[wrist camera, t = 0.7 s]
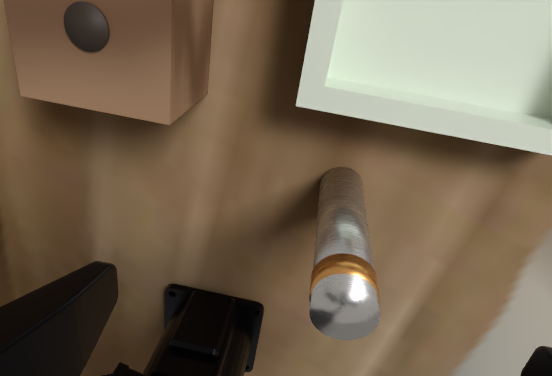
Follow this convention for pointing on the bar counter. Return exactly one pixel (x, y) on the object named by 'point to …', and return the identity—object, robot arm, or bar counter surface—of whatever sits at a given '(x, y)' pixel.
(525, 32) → the tray
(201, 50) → the walnut block
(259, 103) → the bar counter surface
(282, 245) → the bar counter surface
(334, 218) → the cylinder
